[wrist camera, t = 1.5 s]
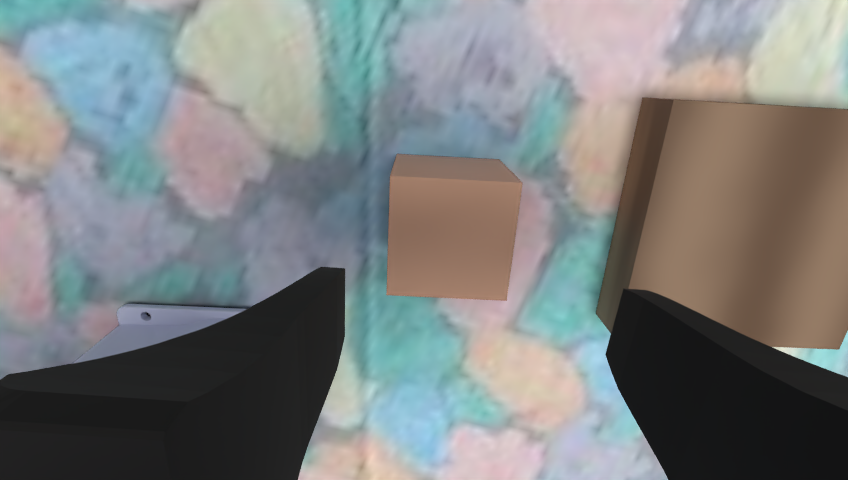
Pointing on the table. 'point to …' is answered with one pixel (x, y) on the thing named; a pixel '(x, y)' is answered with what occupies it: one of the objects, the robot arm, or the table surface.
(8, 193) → the table surface
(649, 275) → the walnut block
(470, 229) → the terracotta cube
